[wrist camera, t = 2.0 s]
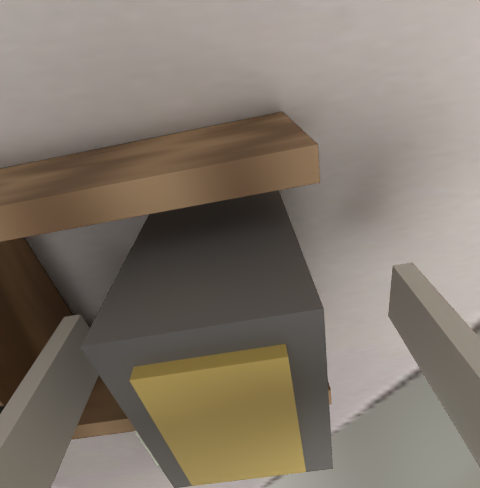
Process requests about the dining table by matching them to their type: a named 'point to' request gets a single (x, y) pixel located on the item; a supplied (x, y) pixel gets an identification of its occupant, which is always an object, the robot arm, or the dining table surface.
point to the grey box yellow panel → (218, 344)
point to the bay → (120, 207)
